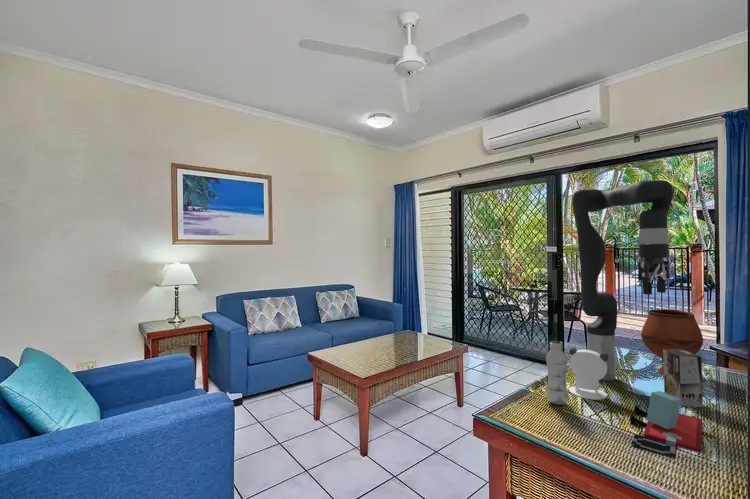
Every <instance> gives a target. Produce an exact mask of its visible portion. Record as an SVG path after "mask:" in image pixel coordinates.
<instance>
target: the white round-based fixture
mask: <svg viewBox="0 0 750 499" xmlns="http://www.w3.org/2000/svg"><path fill="white" fill-rule="evenodd" d="M568 353H569V355H570V356H571V357H570V360H569V367H570V370H571V371H572V373H573V374H574V376H575V385H573V386H570V387H569V389H568V390H569V392H570V393H571V394H572V395H574V396H576V397H578V396H579V398H582V399H586V400H593V401H594V400H595V401H596V400H597V401H599V400H604V399H606V398H608V395H607V393H606V392H605V391H603V390H601V389H599V384H600V383H601V382H602V381H603V380H602V378H603V377H604V376H605V375H606V373H607V363H606V361H607V360H608V357H609V356H608V354H607V353H606V352H604V351H603V352H601V354H599V353H597V352H595V351H591V350H587V349H577V348H576V347H574V346H572V347H571V348H570V349H569V352H568Z"/></svg>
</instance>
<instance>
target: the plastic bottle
mask: <svg viewBox="0 0 750 499" xmlns="http://www.w3.org/2000/svg"><path fill="white" fill-rule="evenodd" d="M549 344H550V345H549V348H550V350H549V351H548V352H547V353H546V357H545V360H546V368H547V387H546V399H547V401H548V402H549V403H550V404H554V405H558V406H564V405H565V406H566V405H567V403H568V401H569V392H568V389H567V388H568V387H567V367H568V358H567V357H568V356H567V355H566V354H565V352H564V351H563V349H564V346H563V342H562V341H556V340H552V341H550V342H549Z"/></svg>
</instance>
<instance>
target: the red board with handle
mask: <svg viewBox="0 0 750 499" xmlns="http://www.w3.org/2000/svg"><path fill="white" fill-rule="evenodd" d="M633 409H634V410H633V412H634V414H633V413H630V416H629V418H630V419H629V422H630V424H629V425H632V426H635V424H637V425H639V426H642V427H644V428H645V429H644V432H643V436H642V435H640V434H639V435H638V434H636V433H634V435H633V437H632V440H631V445H635V446H639V447H641V448H644V449H647V450H651V451H655V452H658V453H660V454H664V455H667V456H670V457H673V458H674V457H675V453H676V447H679V448H682V449H686V450H691V451H694V452H698V453H702V418H700V417H695V416H691V415H687V414H684V413H679V414H678V419H677V424H676V428H672V429H668V430H667V429H665V428H663V427H661V426H659V425H657V424H654V423H652V422H650V421H648V420H647V422H645V421H643V420H641V419H639V418H636V415H637V416H639V414H641V415H643V416H645V417H647V414H648V411H645V410H643V409H641V408H640V405H636V404H635V405H634V408H633Z"/></svg>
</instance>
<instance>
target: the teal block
mask: <svg viewBox="0 0 750 499" xmlns="http://www.w3.org/2000/svg"><path fill="white" fill-rule="evenodd" d="M648 404H649V405H648V409H647V413H648V414H647V416H646V421H647V422H648V421H650V422H652V423H654V424H657V425H659V426H661V427H663V428H665V429H667V430H668V429H672V428H676V424H677V419H678V414H680V408H681V405H680V404H681V399H679V398H677V397H674V396H671V395H669V394H666V393H664V392H663V391H661V390H660V391H659V390H658V391H652V392H651V394H650V400H649V403H648Z"/></svg>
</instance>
